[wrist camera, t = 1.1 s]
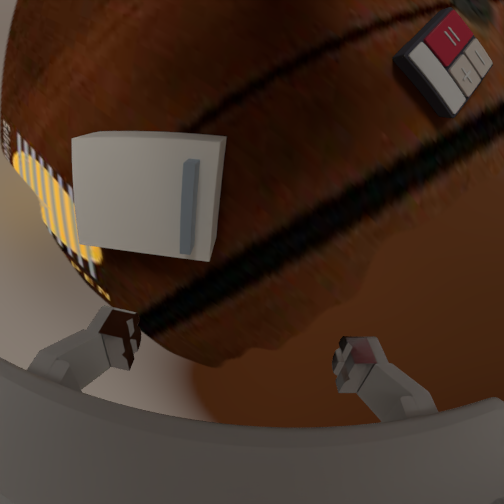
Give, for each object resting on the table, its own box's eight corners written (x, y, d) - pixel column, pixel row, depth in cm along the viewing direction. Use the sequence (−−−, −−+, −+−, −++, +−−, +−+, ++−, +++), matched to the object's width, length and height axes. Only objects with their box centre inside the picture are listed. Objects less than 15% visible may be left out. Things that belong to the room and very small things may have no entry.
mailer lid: (74, 137, 27) (60, 141, 25) (220, 141, 28) (217, 145, 25) (81, 242, 34) (70, 252, 31) (210, 259, 35) (206, 272, 32)
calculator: (496, 64, 22) (456, 120, 27) (479, 65, 26) (438, 118, 31) (453, 4, 19) (405, 54, 24) (437, 10, 23) (390, 59, 28)
